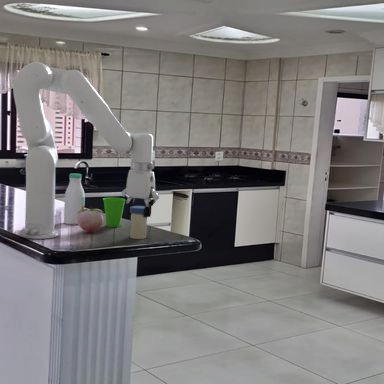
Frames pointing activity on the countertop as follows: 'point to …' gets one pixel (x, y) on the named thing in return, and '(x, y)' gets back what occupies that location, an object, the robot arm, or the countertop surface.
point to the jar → (138, 226)
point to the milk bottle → (73, 199)
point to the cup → (113, 211)
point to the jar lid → (137, 209)
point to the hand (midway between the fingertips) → (139, 215)
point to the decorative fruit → (90, 219)
